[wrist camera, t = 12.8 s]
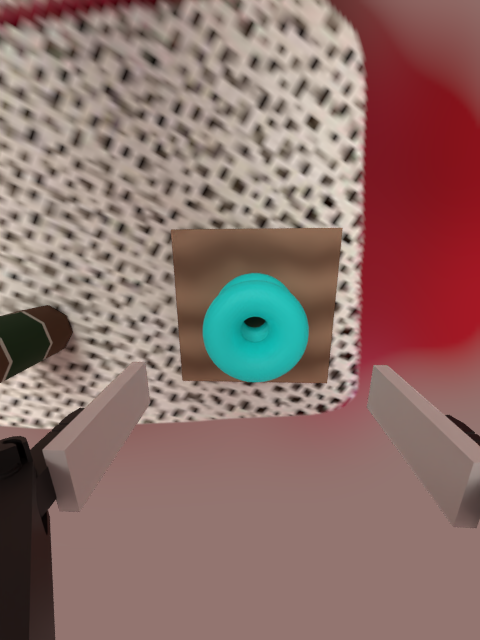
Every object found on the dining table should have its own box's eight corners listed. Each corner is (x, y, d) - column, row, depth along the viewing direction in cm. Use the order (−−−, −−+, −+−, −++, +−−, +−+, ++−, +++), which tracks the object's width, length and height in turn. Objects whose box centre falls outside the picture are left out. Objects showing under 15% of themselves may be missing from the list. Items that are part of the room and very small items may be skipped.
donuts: (247, 257, 20) (336, 332, 22) (249, 254, 30) (310, 306, 31) (178, 344, 23) (261, 407, 24) (200, 316, 32) (258, 362, 34)
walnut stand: (182, 232, 34) (170, 229, 30) (329, 230, 34) (342, 227, 29) (190, 364, 40) (182, 380, 35) (317, 366, 39) (326, 383, 34)
